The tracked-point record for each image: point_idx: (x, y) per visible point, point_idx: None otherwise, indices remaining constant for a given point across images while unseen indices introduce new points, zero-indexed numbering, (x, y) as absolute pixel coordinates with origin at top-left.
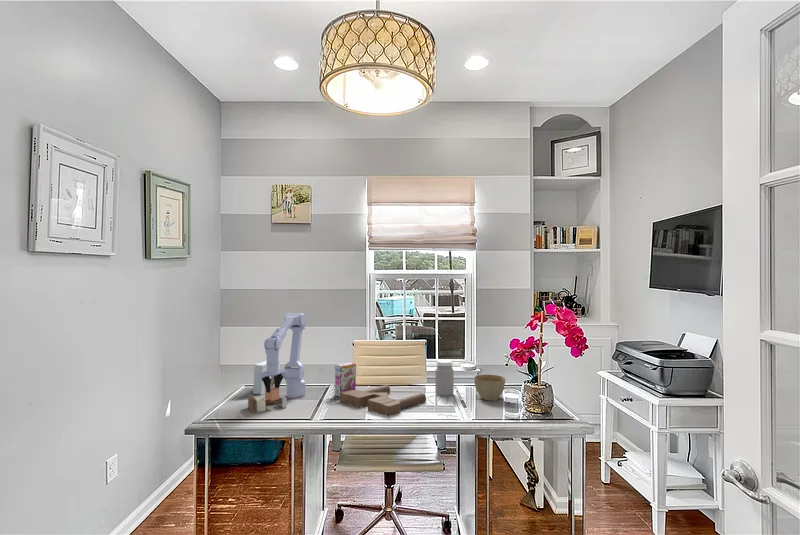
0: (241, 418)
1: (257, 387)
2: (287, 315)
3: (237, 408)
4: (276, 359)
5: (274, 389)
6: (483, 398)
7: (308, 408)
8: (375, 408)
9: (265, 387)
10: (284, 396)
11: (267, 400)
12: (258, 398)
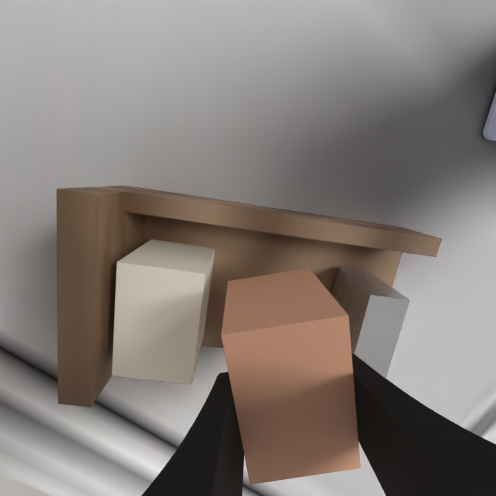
0: (38, 355)
1: None
2: None
3: (56, 103)
4: None
5: (290, 476)
6: None
7: (452, 398)
8: None
9: (198, 417)
10: (392, 348)
11: (268, 232)
12: (157, 287)
